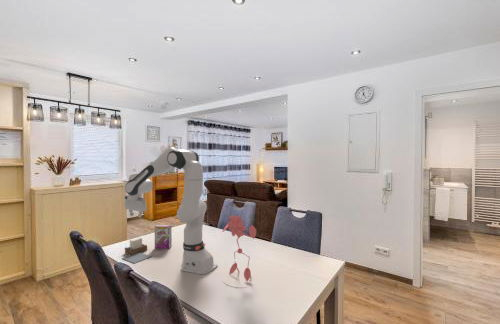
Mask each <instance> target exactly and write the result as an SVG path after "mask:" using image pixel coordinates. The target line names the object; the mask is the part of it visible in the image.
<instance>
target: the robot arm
mask: <svg viewBox="0 0 500 324" xmlns="http://www.w3.org/2000/svg"><path fill="white" fill-rule="evenodd" d="M199 161H200V157H199V154H198V153H197V152H195V151H193V150H188V149H187V150H186V149H177V148H176V147H168V148H166V149H164V151H163V152H162V153H160V154H159V156H158V157H156V159H155V160H154V161H152V162H151V163H150V164H148V165H147V166H146V167H144V168H143V169H142V170H141V171H140V172H139V173H135V174H130V175H129V176H128V180H127V182H126V183H125V186H124V191H125V192H126V193H127V195H125V196H124V208H125V209H126V210H128V212H129V216H131V217H132V216H134V212H133V211H136V212H138V214H137V218H142V215H143V212H146V211H147V202H146V200H145V198H144V197H143V194H146V193H147V194H148V193H150V192H152V191H153V189H154V183H153V181H152V180H151V179H150V178H152V177H155V176H160V175H163V174H166V173H169V171H171V169H172V168H175V169H178V170H183V171H184V183H183V185H184V186H183V194H182V199H181V203H180V206H179V208H178V209H177V212H176V217H177V219H178V220H179V222H182V223H184V224H185V226H184V228H183V243H182V248H183V252H182V253H183V254H182V262H181V267H180V270H181V271H182V272H187V273H192V274H198V275H205V274H208V273H210V272H213V271H214V270H215V269H217V268H218V263H217V262H215V261H214V257H213V255H212V254H211V252H209V250H208V249H206V244H207V243H204V241H203V226H204V220H205V215H206V214H205V213H206V211H207V210H208V208H207V207H208V206H207V205H208V204H207V203H206V202H205V201H204V200H201V197H202V194H203V187H204V185H203V183H204V182H203V181H204V179H203V178H204V173H203V165H202V164H201V163H200V162H199Z"/></svg>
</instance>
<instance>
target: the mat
mask: <svg viewBox="0 0 500 324" xmlns="http://www.w3.org/2000/svg"><path fill="white" fill-rule="evenodd" d="M149 258H152V255H149V254H146V253H143V252H141V253H140V252H139V253H137V254H134V255H127V256H124V257H121V259H122V260H124V261H125V262H129V263H131V264H138V263H139V262H142V261H145V260H147V259H149Z"/></svg>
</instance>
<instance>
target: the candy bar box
mask: <svg viewBox="0 0 500 324" xmlns="http://www.w3.org/2000/svg"><path fill="white" fill-rule="evenodd" d="M172 246H173V245H172V224H156V225H155V226H154V249H162V250H163V249H165V250H167V249H168V250H169V249H170V248H172Z"/></svg>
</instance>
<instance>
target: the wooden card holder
mask: <svg viewBox="0 0 500 324" xmlns="http://www.w3.org/2000/svg"><path fill="white" fill-rule="evenodd" d="M146 251H148V245H147V244H144V243H142V247H140V248H137V249H134V250H133V249H130V246H127V247H124V254H126V255H127V256H129V255H134V254H137V253H139V252H140V253H143V252H146Z"/></svg>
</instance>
